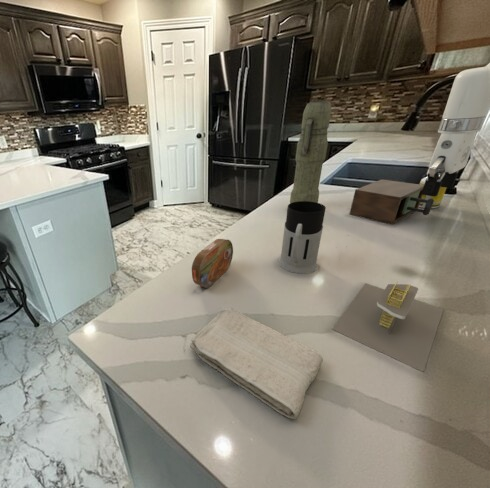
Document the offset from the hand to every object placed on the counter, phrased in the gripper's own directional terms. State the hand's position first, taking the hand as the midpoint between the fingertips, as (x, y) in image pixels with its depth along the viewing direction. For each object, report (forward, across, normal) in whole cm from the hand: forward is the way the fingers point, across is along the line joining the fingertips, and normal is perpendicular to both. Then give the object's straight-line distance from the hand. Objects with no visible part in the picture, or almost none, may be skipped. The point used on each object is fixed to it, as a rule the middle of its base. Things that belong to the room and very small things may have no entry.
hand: (436, 191), depth 73 cm
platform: (+9, -51, -13) cm, 54 cm away
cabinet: (+9, -1, +11) cm, 14 cm away
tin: (+8, -67, +16) cm, 70 cm away
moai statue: (+9, -15, +30) cm, 34 cm away
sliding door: (+8, +1, +3) cm, 9 cm away
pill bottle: (+10, +14, +5) cm, 18 cm away
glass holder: (+8, -50, +7) cm, 51 cm away
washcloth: (+8, -77, -5) cm, 78 cm away
